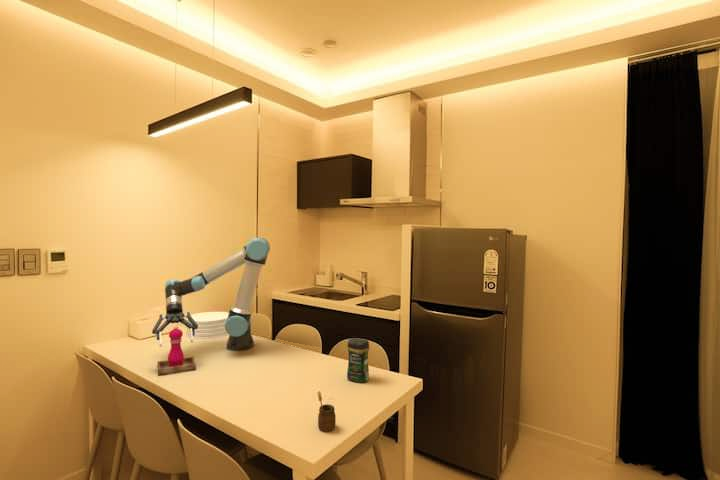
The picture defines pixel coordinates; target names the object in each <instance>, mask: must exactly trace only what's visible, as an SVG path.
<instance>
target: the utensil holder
mask: <svg viewBox="0 0 720 480" xmlns="http://www.w3.org/2000/svg"><path fill="white" fill-rule="evenodd" d="M317 397H318V401H319V403H320V406H319V409H318V416H317V417H318V418H317V424H318V425H317V427H318V430H319V431H321V432H331V431H333V430H334V429H335V428H336V412H335V410H336V409H335V404H333V403H335V401H336V400H335V398H334V397H333V396H330V397H329V398H328V401H329V399H330V400H332V402H328V403H327V404H323V403H322V400H323V398H322V394H321V391H320V390H318V392H317ZM331 403H332V404H331Z"/></svg>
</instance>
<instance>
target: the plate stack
mask: <svg viewBox="0 0 720 480" xmlns="http://www.w3.org/2000/svg"><path fill="white" fill-rule="evenodd" d="M228 315H229V312H227V311H207V312H205V311H204V312H199V313H198V312H197V313H193V314H190V316H191V317H192V318H193V319H194V321H195V322H196V323H197V325H198V329H195V335H194V336H193V340H213V339H219V338H223V337H227V336H229V334H228V333H227V332H226V330H225V322H226V320H227V318H228ZM185 320H186V321H188V322H189V323H190V321H189V320H188V318H186V317H185ZM190 324H191V323H190ZM185 327H186V337H187V338H188V339H191V338H190V329H189V328H188V327H187V326H185Z"/></svg>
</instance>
